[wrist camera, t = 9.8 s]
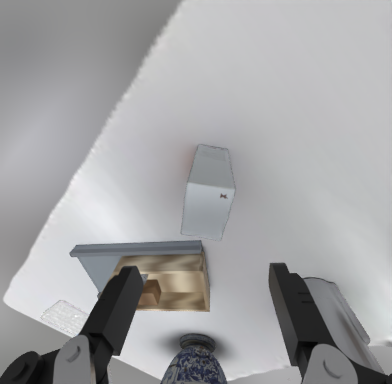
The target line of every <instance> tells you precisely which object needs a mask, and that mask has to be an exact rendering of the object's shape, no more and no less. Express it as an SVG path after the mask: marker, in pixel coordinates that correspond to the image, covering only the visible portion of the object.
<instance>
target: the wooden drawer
mask: <svg viewBox="0 0 392 384" xmlns="http://www.w3.org/2000/svg"><path fill="white" fill-rule="evenodd" d="M123 266H137V267H138V270H139V272H140V274H149V275H148V278H147V280H148V279H157V280H158V283H159V285H160V288H161V291H162V292H161V295H160V299H159V303H158V305H139V303H138V305H137V308H136V310H145V311H202V312H210V288H209V282H208V275H207V269H206V262H205V256H204V252H201V254H168V255H131V256H122V257H121V259H120V260H119V262H118V264H117V266H116V268H115V269H114V271H113V273H112V275H111V276H110V278H109V280H108V282H109V281H110V280H111V279H112V278H113V277H114V276H115V275H118V274H119V272H120V270H121V268H122V267H123ZM108 282H107V283H108ZM106 285H107V284H106ZM106 285H105V286H106ZM104 288H105V287H104ZM103 290H104V289H103ZM102 292H103V291H102ZM101 294H102V293H101ZM101 294H100V295H101ZM99 297H100V296H99Z"/></svg>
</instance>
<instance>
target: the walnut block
mask: <svg viewBox="0 0 392 384" xmlns="http://www.w3.org/2000/svg"><path fill="white" fill-rule="evenodd" d="M161 292H162V291H161V288H160V285H159V283H158V280H157V279H148V280H147V281H146V283H145V284H144V286H143V291H142V294H141V297H140V300H139V305H158V303H159V299H160V295H161Z"/></svg>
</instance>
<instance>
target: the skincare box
mask: <svg viewBox="0 0 392 384" xmlns="http://www.w3.org/2000/svg"><path fill="white" fill-rule="evenodd" d="M235 191H236V187H235V182H234V178H233V173H232V168H231V163H230V158H229V154H228V149H223V148H217V147H211V146H205V145H198V148H197V152H196V155H195V158H194V161H193V165H192V168H191V171H190V174H189V178H188V181H187V186H186V192H185V199H184V209H183V218H182V227H181V234H183V235H189V236H195V237H201V238H207V239H212V240H217V241H221V239H222V235H223V232H224V228H225V225H226V223H227V220H228V217H229V213H230V209H231V206H232V202H233V198H234V195H235Z"/></svg>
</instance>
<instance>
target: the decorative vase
mask: <svg viewBox="0 0 392 384" xmlns="http://www.w3.org/2000/svg"><path fill="white" fill-rule="evenodd" d="M180 346H181V348H182V349H183V350H182V351H181V352H180V353H179V354H178V355H177V356H176V357H175V358H174V359H173V360H172V362H171V363H170V365H169V367H168V369H167V371H166V373H165V375H164V377H163V379H162V381H161V384H227V381H226V378H225V375H224V372H223V370H222V368H221V366H220V364H219V362H218V361H217V359H216V358H215V357H214V355H213V354H212V352H213V351H214V350H215V346H216V345H215V342H214V341H213V340H212V339H211V338H209V337H207V336H203V335H198V334H188V335H185V336H183V337H182V338H181V339H180Z"/></svg>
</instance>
